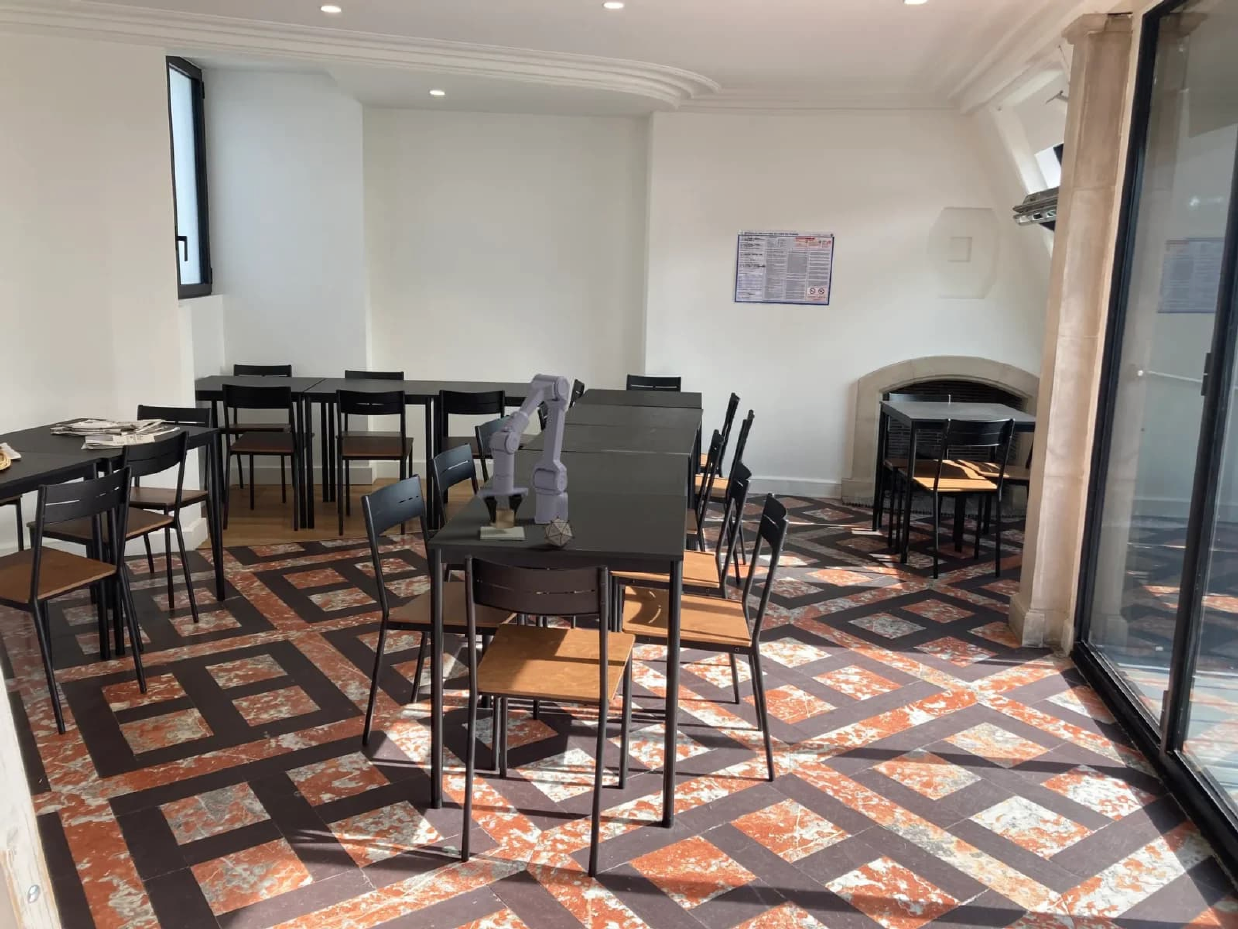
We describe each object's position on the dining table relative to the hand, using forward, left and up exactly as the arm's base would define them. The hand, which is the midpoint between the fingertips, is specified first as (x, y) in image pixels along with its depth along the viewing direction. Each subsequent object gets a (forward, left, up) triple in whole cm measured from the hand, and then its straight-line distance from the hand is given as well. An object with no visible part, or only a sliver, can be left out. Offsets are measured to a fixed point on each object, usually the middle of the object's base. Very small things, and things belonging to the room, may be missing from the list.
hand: (502, 521), depth 265 cm
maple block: (0, 0, -2) cm, 2 cm away
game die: (-15, +11, -4) cm, 19 cm away
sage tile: (0, 0, -4) cm, 4 cm away
